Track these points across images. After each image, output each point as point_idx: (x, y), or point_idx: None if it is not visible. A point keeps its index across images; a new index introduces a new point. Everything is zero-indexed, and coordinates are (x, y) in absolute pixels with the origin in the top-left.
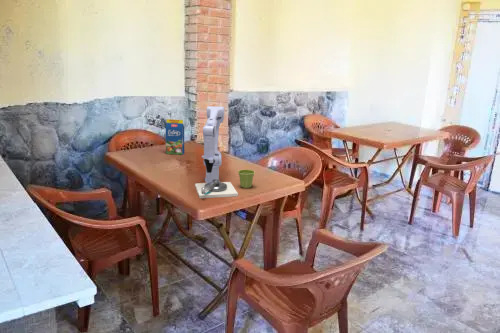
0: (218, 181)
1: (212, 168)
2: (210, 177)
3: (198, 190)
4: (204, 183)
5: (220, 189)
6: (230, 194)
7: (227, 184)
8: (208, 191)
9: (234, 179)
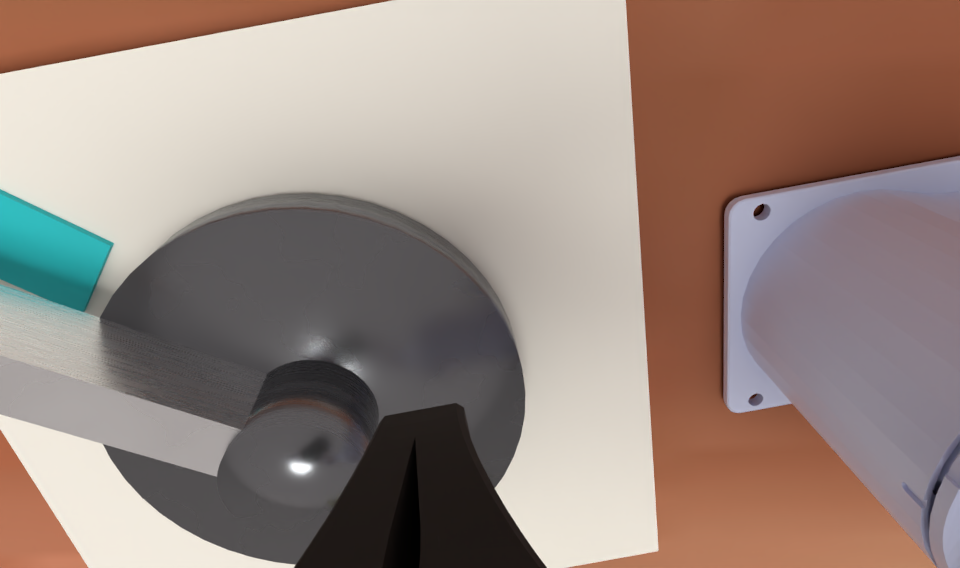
0: (259, 523)
1: (933, 479)
2: (805, 308)
3: (132, 69)
4: (612, 175)
5: (142, 479)
6: (95, 565)
7: (536, 524)
8: (91, 275)
9: (859, 557)
